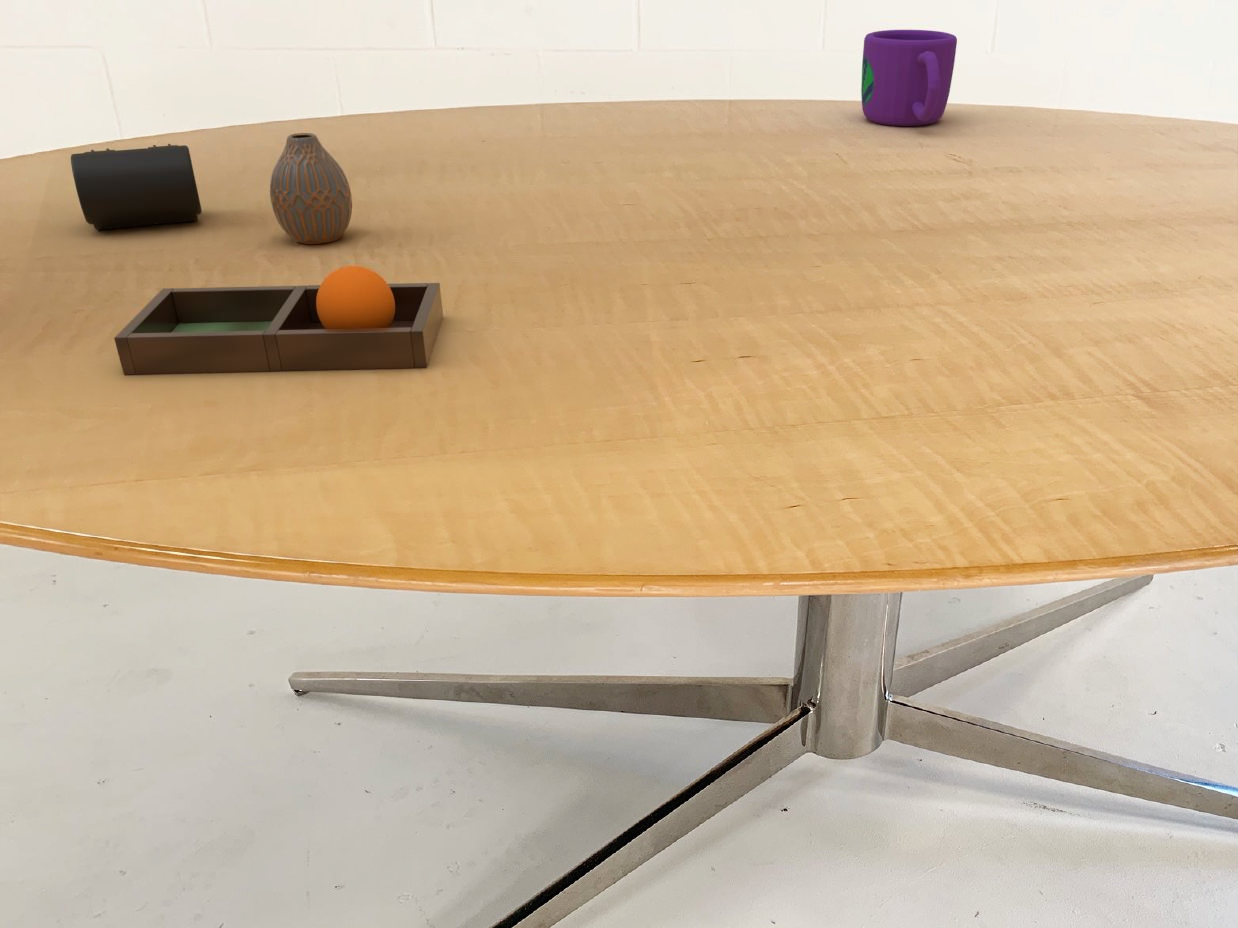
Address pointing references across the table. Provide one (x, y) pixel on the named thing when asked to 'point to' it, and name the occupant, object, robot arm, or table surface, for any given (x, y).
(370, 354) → the tray
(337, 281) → the clementine
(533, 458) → the table surface
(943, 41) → the mug
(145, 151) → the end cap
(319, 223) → the vase
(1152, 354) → the table surface
